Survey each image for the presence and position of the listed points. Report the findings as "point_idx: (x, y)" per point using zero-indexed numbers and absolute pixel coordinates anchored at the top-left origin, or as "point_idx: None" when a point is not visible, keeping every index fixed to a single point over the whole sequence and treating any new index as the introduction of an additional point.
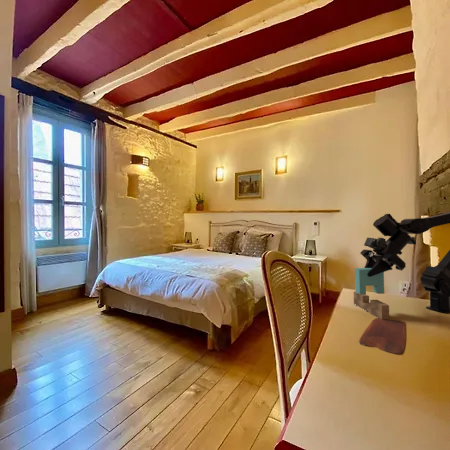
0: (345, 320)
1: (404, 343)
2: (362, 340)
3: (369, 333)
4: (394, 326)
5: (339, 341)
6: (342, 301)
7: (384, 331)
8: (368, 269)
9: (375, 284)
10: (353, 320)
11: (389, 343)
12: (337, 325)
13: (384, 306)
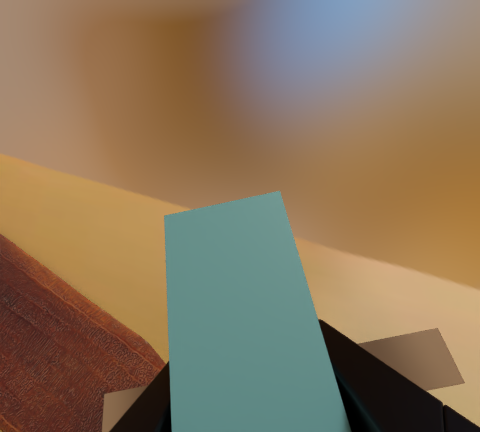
0: (150, 234)
1: None
2: None
3: (6, 266)
4: (49, 403)
5: (15, 188)
6: (432, 285)
7: (9, 326)
8: (171, 364)
9: None
10: (149, 261)
11: None
12: (110, 202)
13: (106, 414)
